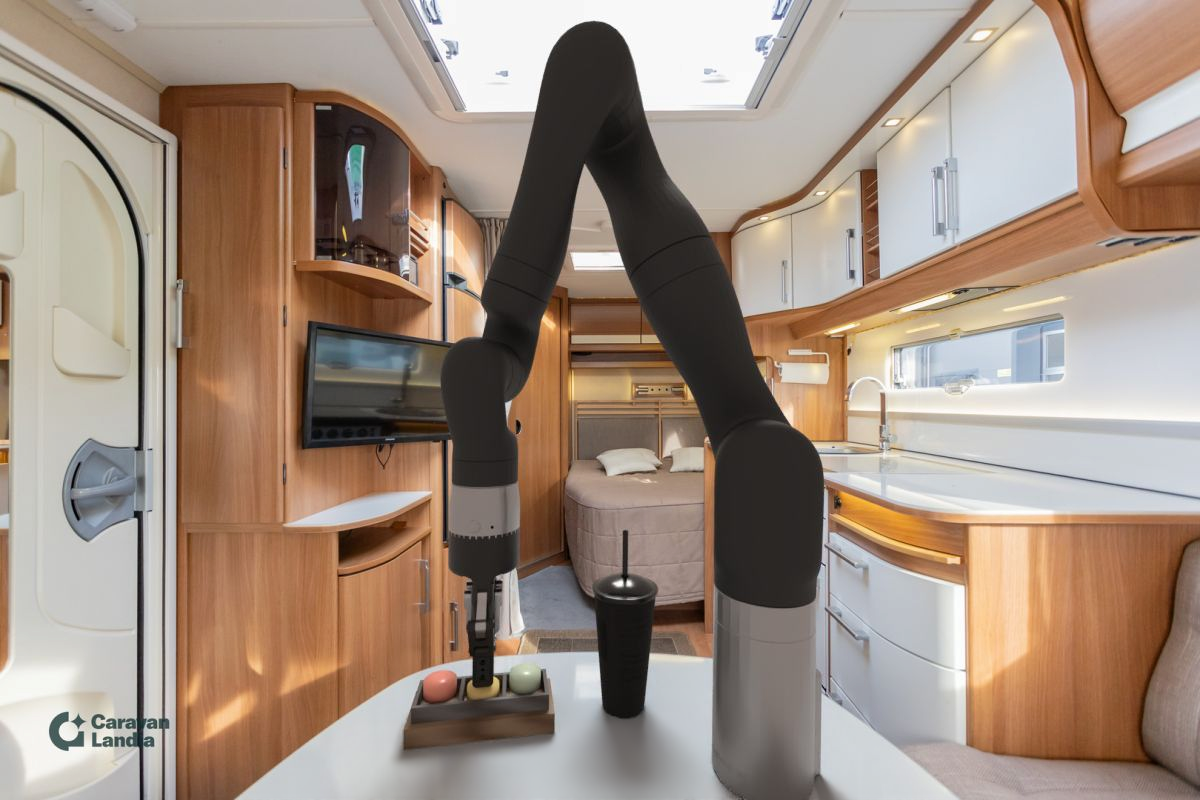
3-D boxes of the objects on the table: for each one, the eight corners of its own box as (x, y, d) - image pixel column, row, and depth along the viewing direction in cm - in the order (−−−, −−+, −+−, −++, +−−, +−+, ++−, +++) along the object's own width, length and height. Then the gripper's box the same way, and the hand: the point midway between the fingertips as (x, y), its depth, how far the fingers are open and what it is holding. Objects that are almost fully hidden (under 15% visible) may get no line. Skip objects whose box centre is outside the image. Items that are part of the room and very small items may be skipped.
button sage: (539, 675, 54) (539, 661, 54) (541, 693, 51) (541, 678, 51) (509, 678, 54) (509, 664, 54) (509, 696, 50) (509, 681, 50)
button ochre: (499, 688, 54) (499, 674, 54) (498, 707, 50) (498, 692, 50) (468, 691, 53) (468, 677, 53) (465, 711, 50) (465, 695, 50)
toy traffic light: (549, 695, 56) (550, 664, 56) (554, 732, 50) (554, 698, 50) (416, 708, 53) (416, 676, 53) (403, 750, 47) (403, 713, 47)
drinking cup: (653, 733, 50) (656, 543, 50) (583, 722, 51) (585, 537, 51) (659, 689, 57) (661, 524, 57) (597, 681, 59) (599, 520, 59)
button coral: (458, 683, 53) (458, 668, 53) (454, 702, 49) (454, 687, 49) (426, 686, 52) (426, 671, 52) (420, 705, 49) (420, 690, 49)
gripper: (521, 540, 46) (519, 719, 46) (519, 508, 59) (517, 648, 59) (439, 543, 44) (437, 728, 44) (456, 510, 57) (454, 654, 57)
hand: (483, 682), depth 52 cm, fingers closed
